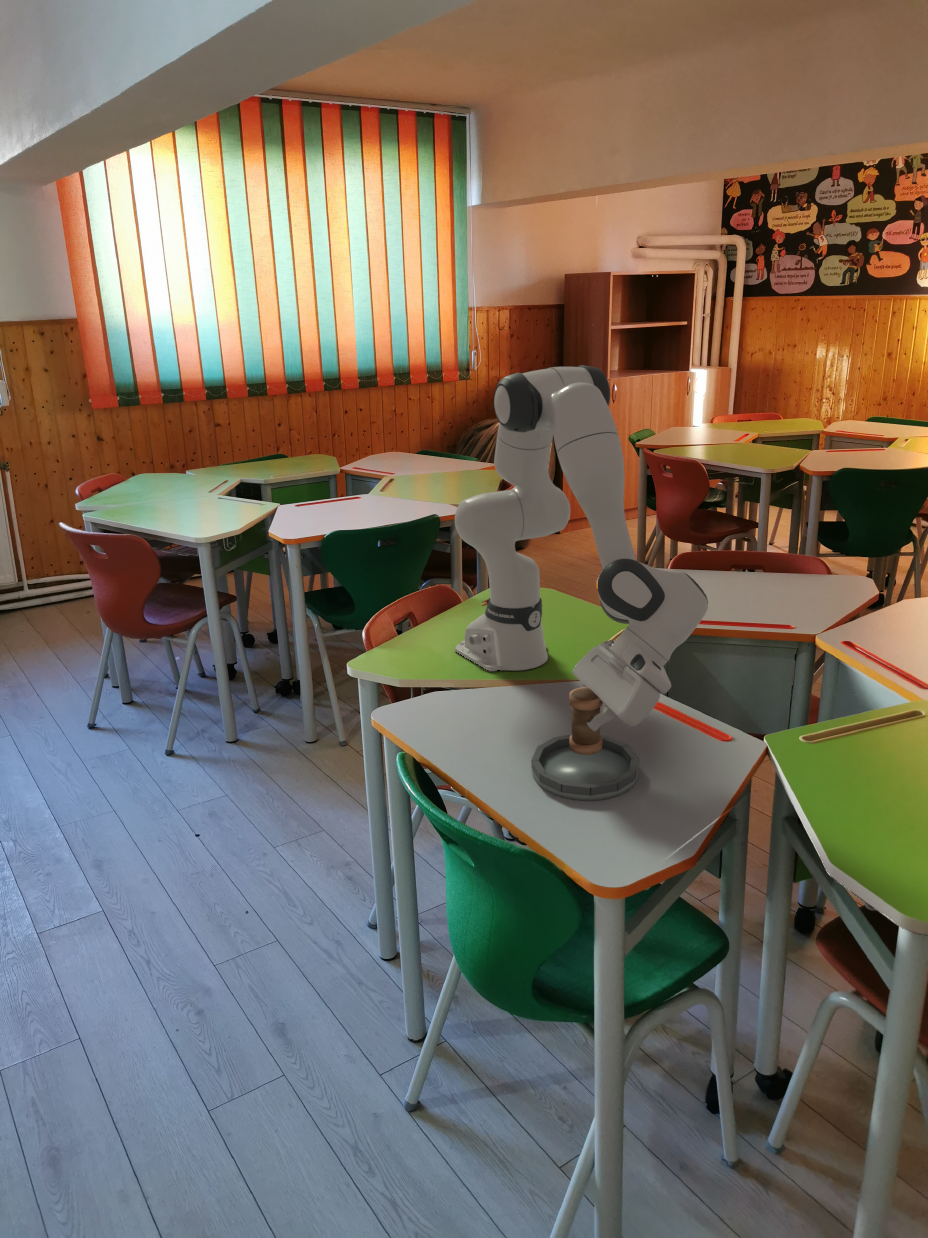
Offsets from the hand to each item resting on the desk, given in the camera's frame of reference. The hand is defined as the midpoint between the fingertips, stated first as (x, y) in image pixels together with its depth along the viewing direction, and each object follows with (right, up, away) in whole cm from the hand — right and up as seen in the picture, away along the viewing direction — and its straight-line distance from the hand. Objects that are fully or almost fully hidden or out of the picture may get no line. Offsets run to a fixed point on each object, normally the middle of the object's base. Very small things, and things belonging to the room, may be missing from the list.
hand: (582, 719), depth 151 cm
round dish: (+1, -10, +4) cm, 10 cm away
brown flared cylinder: (+1, -5, +2) cm, 5 cm away
